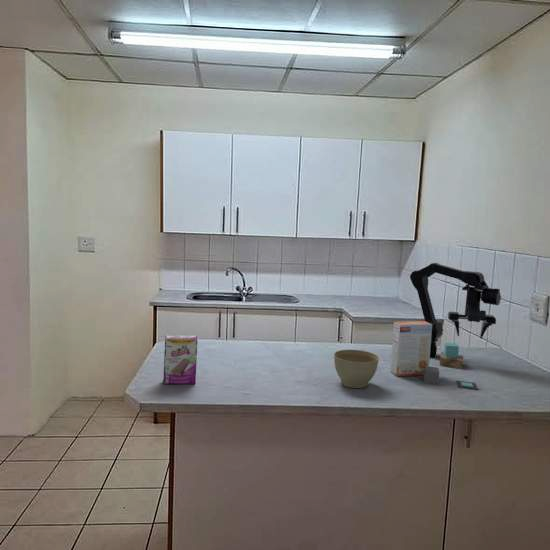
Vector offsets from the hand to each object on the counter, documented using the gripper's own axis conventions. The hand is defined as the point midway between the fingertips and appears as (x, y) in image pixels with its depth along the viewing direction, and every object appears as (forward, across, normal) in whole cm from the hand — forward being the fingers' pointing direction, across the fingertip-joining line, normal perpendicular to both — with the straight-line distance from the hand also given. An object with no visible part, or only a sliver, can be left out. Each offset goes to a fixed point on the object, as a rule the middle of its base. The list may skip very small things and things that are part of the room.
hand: (469, 337), depth 215 cm
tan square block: (+12, -7, -3) cm, 14 cm away
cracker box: (+12, -25, -24) cm, 37 cm away
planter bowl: (+12, -45, -45) cm, 65 cm away
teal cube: (+8, -7, -3) cm, 11 cm away
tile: (+12, -4, -30) cm, 32 cm away
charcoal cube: (+12, -17, -30) cm, 36 cm away
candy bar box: (+12, -104, -68) cm, 124 cm away
